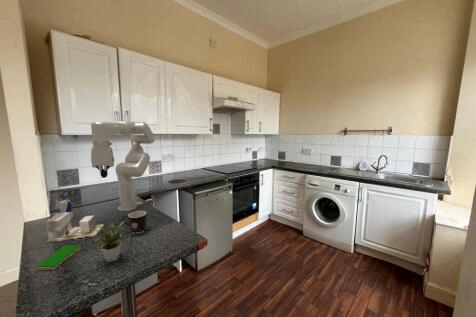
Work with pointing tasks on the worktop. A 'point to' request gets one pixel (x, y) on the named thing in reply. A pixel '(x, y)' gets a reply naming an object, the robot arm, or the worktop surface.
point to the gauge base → (75, 232)
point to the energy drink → (66, 207)
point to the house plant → (110, 241)
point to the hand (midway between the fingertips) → (104, 177)
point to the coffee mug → (137, 221)
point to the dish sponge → (59, 256)
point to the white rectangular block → (87, 224)
